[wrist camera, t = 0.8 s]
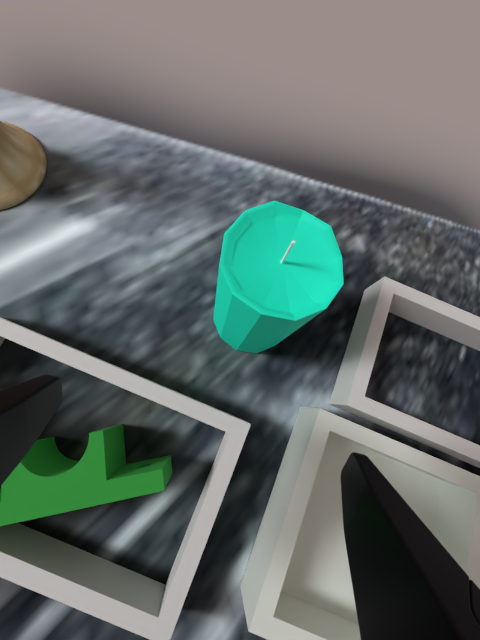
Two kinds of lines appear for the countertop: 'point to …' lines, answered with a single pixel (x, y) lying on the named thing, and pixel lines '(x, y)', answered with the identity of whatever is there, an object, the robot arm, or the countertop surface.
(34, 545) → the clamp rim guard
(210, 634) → the countertop surface
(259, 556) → the bin
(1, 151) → the hand bell
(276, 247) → the candle
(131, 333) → the countertop surface
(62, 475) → the pipe clamp
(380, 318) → the grey rectangular frame
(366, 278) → the countertop surface
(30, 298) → the countertop surface
